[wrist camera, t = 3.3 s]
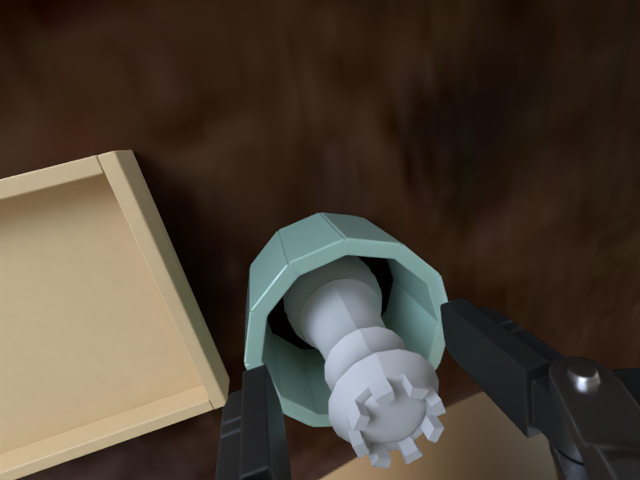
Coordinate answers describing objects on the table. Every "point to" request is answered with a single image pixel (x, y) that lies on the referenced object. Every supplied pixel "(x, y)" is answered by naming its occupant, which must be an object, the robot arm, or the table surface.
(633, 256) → the table surface
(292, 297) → the rook chess piece
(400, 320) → the cup
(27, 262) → the tray
